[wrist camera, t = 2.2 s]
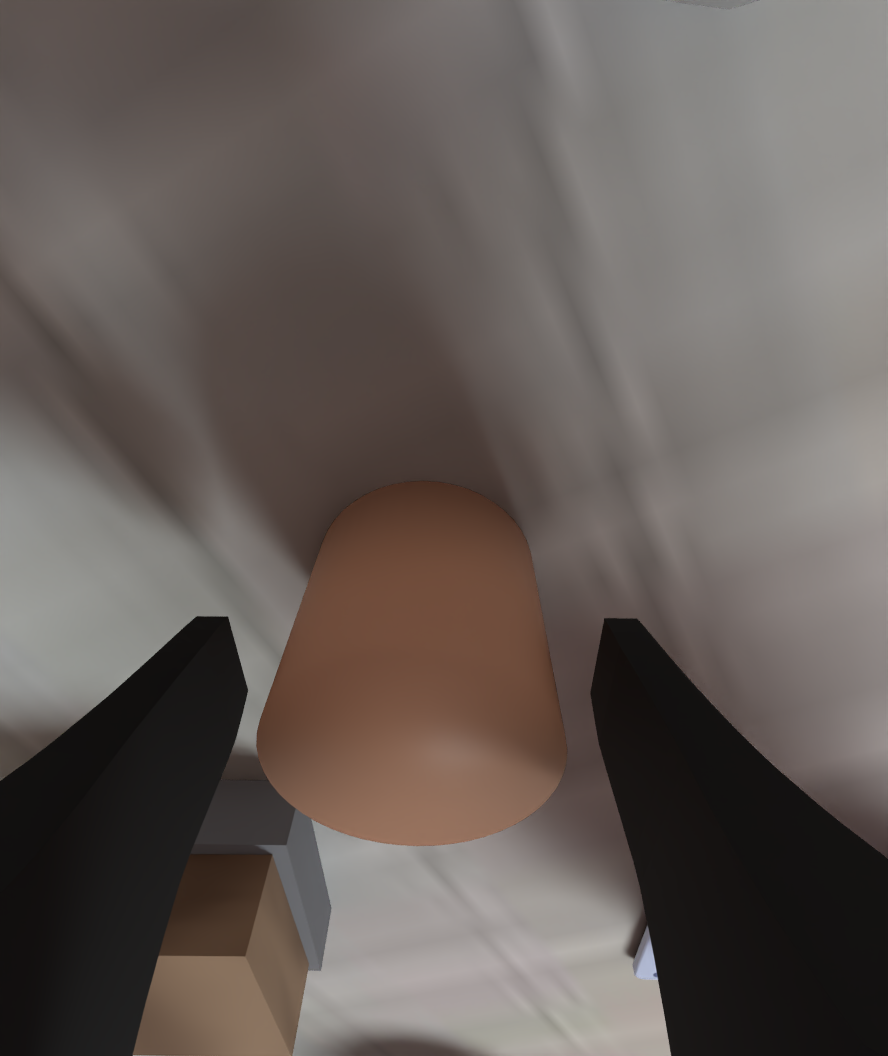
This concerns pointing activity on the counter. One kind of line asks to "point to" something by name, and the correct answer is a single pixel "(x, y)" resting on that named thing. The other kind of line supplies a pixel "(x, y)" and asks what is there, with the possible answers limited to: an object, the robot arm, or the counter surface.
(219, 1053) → the walnut slab
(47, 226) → the counter surface
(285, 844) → the charcoal slab
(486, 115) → the counter surface
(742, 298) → the counter surface
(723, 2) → the supplement can
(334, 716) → the light brown short cylinder
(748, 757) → the robot arm
